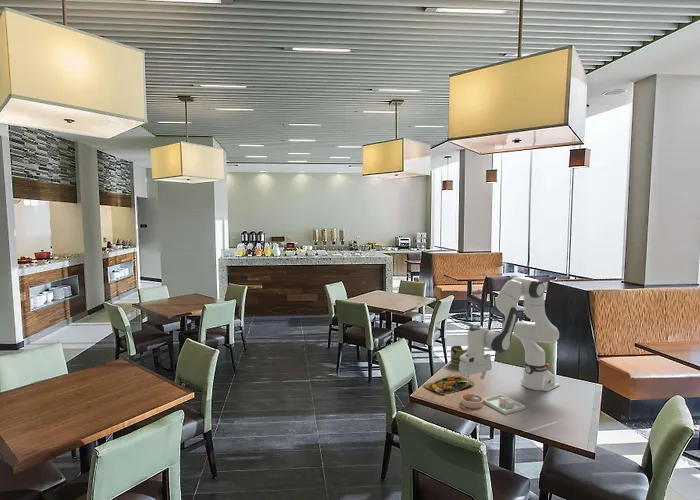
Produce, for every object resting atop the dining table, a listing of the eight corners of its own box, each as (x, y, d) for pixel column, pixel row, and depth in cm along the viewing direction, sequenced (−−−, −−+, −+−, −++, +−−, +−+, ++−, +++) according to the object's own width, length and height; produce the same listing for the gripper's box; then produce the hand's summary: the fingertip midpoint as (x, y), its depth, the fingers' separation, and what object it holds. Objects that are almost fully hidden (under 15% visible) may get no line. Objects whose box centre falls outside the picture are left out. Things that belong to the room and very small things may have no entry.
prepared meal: (444, 391, 233) (422, 381, 248) (444, 397, 234) (421, 386, 248) (476, 382, 249) (453, 373, 264) (475, 387, 249) (453, 378, 264)
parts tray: (500, 397, 232) (500, 394, 232) (524, 409, 217) (524, 405, 217) (481, 402, 226) (481, 398, 226) (505, 415, 211) (505, 411, 211)
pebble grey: (509, 406, 219) (510, 399, 219) (515, 409, 216) (515, 402, 216) (504, 408, 218) (504, 401, 218) (510, 411, 214) (510, 404, 214)
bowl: (472, 398, 231) (472, 392, 231) (487, 406, 221) (487, 400, 221) (456, 402, 226) (456, 396, 226) (471, 410, 216) (471, 404, 216)
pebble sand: (502, 402, 224) (502, 396, 224) (508, 405, 220) (508, 399, 220) (497, 404, 222) (497, 397, 222) (502, 407, 219) (503, 400, 218)
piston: (459, 351, 278) (447, 347, 288) (459, 368, 279) (447, 363, 289) (471, 348, 284) (458, 344, 294) (470, 365, 285) (458, 360, 295)
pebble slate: (475, 403, 224) (475, 396, 224) (480, 405, 220) (480, 399, 220) (470, 404, 222) (470, 397, 222) (475, 407, 219) (475, 400, 219)
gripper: (486, 351, 227) (485, 375, 228) (457, 356, 218) (457, 382, 219) (494, 354, 221) (494, 379, 222) (465, 360, 213) (465, 386, 214)
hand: (475, 380), depth 221 cm, fingers open, 8 cm apart
